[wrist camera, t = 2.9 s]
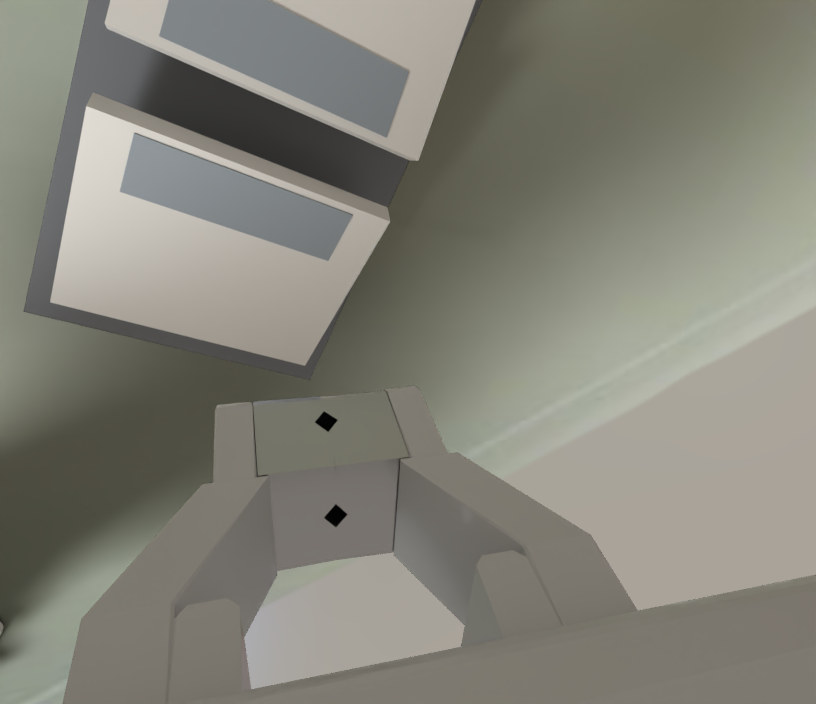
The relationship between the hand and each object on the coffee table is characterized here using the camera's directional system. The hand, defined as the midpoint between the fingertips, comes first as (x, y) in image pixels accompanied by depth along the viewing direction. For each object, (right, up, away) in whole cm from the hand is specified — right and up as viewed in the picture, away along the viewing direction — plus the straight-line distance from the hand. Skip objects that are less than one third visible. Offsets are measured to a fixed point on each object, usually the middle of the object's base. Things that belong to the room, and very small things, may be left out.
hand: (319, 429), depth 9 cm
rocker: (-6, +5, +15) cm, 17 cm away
